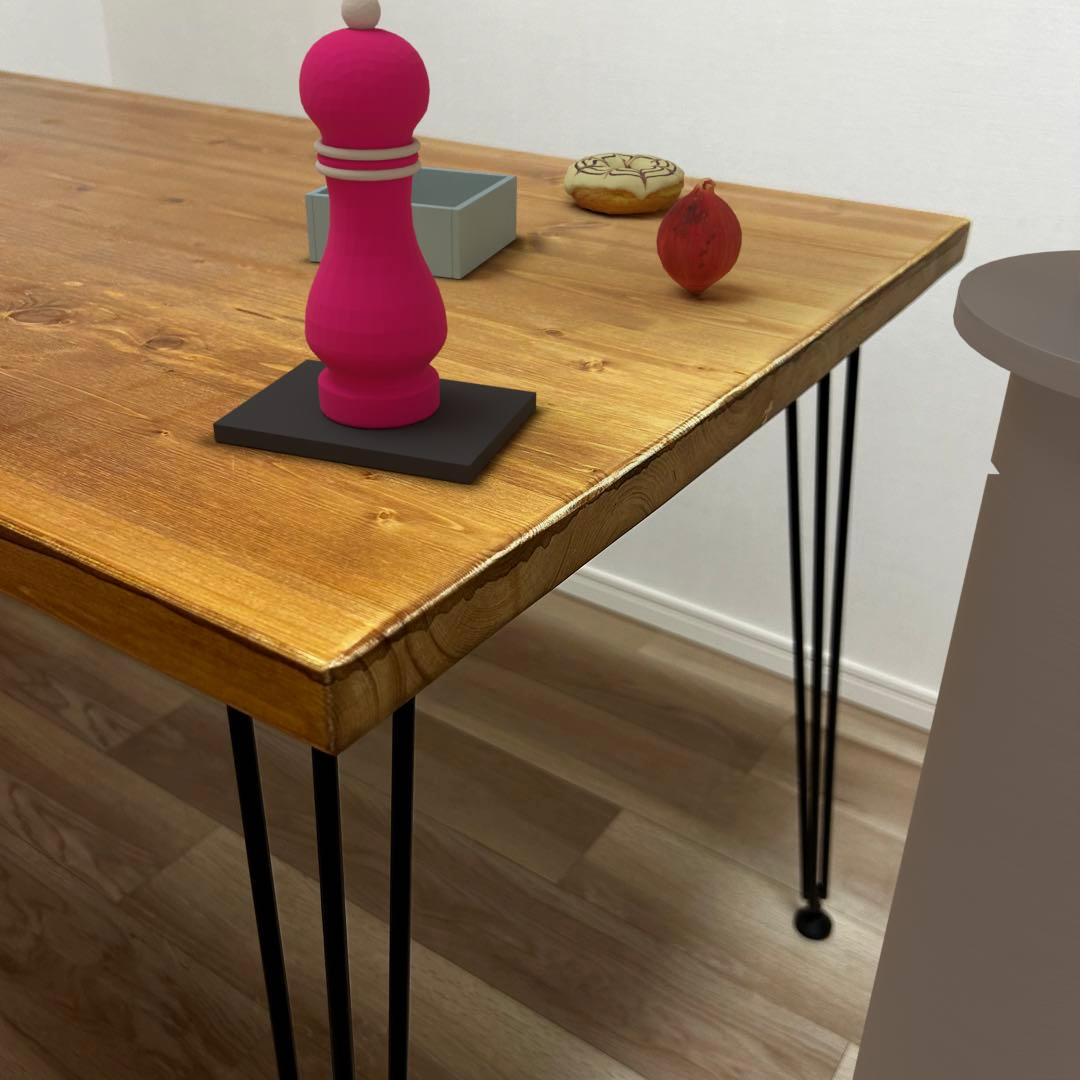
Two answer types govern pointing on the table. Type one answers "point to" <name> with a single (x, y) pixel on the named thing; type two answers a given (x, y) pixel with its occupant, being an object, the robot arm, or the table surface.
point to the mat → (420, 449)
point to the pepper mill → (371, 228)
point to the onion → (699, 239)
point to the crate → (442, 218)
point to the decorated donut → (624, 183)
